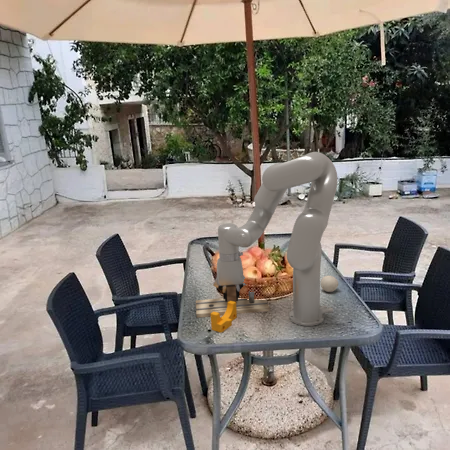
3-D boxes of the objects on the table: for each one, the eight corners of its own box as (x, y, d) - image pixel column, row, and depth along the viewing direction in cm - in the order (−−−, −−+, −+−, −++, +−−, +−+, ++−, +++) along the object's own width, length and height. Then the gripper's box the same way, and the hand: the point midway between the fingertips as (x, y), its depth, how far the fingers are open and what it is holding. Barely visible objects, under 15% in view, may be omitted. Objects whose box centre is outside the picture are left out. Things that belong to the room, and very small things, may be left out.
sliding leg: (235, 300, 163) (234, 282, 161) (236, 304, 160) (235, 286, 158) (226, 300, 163) (225, 283, 161) (227, 305, 159) (226, 287, 157)
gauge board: (264, 297, 169) (263, 293, 168) (269, 311, 157) (269, 306, 157) (195, 303, 167) (195, 299, 166) (196, 317, 155) (196, 313, 154)
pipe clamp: (221, 333, 143) (220, 316, 142) (211, 330, 146) (210, 313, 144) (240, 319, 153) (240, 303, 151) (231, 316, 155) (230, 300, 153)
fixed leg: (254, 300, 163) (253, 290, 162) (254, 303, 161) (254, 292, 160) (248, 301, 163) (248, 290, 162) (249, 303, 161) (249, 292, 160)
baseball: (341, 292, 170) (341, 277, 168) (325, 295, 168) (325, 280, 166) (333, 286, 176) (333, 272, 174) (317, 289, 174) (317, 274, 172)
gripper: (249, 251, 161) (250, 294, 165) (206, 254, 159) (209, 298, 164) (252, 257, 153) (253, 302, 158) (208, 261, 152) (211, 306, 157)
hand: (231, 299), depth 161 cm, fingers closed on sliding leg, 3 cm apart
